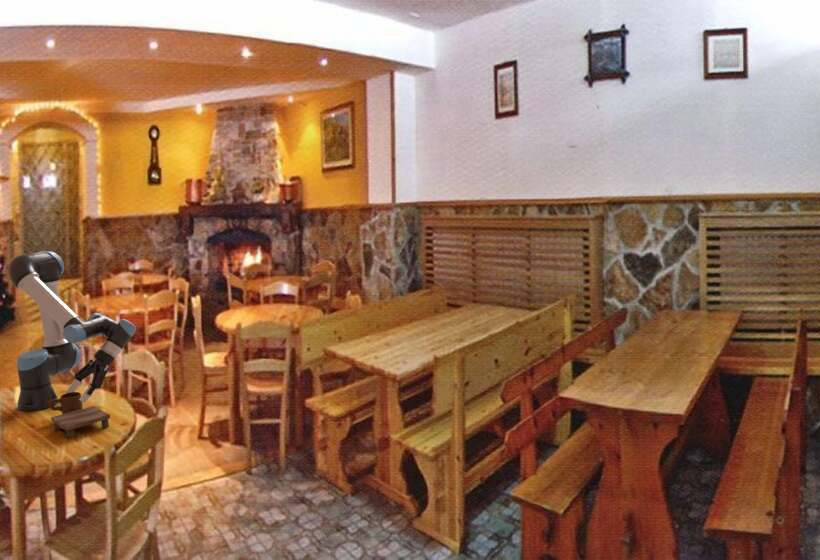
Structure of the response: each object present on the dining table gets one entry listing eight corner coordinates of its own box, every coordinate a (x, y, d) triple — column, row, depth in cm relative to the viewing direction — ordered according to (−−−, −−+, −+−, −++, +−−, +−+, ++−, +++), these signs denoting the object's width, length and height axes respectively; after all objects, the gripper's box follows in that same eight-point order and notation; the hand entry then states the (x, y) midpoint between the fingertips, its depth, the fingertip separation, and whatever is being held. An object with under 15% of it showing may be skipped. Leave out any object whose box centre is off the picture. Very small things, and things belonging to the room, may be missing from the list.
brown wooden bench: (52, 429, 251) (51, 417, 251) (94, 417, 263) (93, 405, 262) (67, 439, 242) (66, 427, 241) (111, 426, 253) (109, 414, 252)
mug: (51, 424, 257) (48, 401, 255) (49, 418, 263) (46, 396, 261) (84, 417, 264) (82, 395, 262) (81, 412, 270) (79, 390, 268)
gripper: (128, 363, 266) (95, 408, 258) (101, 353, 282) (69, 395, 274) (114, 353, 261) (80, 400, 253) (87, 344, 278) (54, 387, 269)
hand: (74, 397), depth 263 cm, fingers open, 13 cm apart
